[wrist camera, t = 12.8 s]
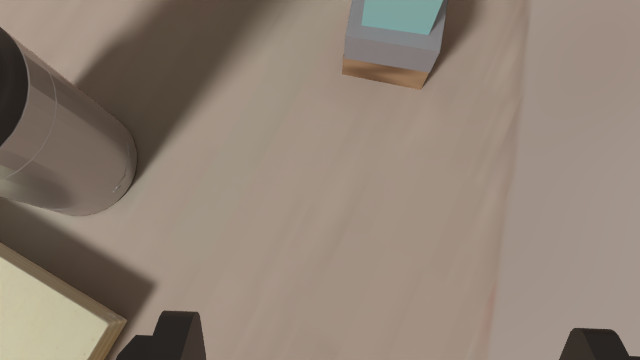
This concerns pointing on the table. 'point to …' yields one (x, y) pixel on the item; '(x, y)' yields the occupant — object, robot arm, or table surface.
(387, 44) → the tower top
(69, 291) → the puzzle box
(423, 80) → the tower base
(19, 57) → the robot arm
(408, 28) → the pillar
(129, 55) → the table surface
